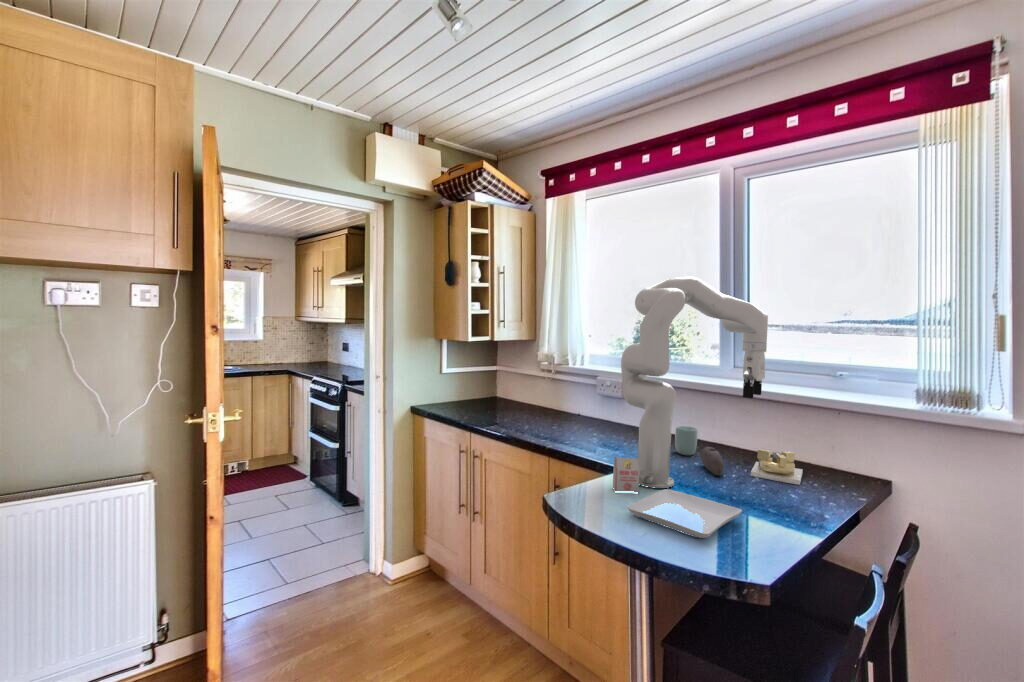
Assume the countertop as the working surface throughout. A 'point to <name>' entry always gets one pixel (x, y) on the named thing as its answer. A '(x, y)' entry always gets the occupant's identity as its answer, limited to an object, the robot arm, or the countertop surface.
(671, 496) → the salad plate
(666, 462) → the robot arm
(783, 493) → the countertop surface
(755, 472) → the housing
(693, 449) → the cup
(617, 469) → the printed carton box
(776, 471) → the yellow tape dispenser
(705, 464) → the brown oval lump
